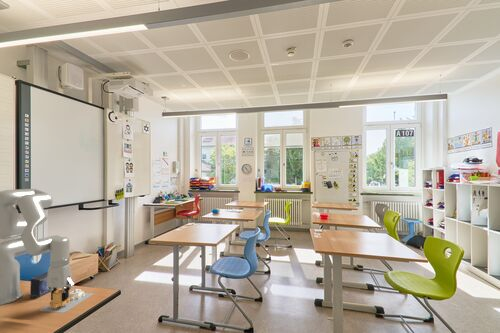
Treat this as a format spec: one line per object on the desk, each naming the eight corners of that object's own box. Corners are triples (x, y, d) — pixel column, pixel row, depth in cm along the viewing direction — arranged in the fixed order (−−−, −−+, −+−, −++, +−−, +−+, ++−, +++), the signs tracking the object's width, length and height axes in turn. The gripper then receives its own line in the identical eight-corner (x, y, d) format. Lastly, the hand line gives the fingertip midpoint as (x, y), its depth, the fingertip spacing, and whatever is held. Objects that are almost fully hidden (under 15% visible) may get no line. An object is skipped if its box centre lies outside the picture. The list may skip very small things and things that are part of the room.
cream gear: (63, 300, 124) (63, 294, 124) (75, 293, 131) (75, 287, 131) (75, 301, 123) (75, 295, 123) (87, 293, 130) (87, 288, 130)
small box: (38, 299, 128) (39, 279, 128) (29, 298, 129) (29, 278, 130) (58, 289, 138) (58, 271, 139) (49, 288, 140) (49, 270, 140)
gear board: (38, 313, 115) (38, 302, 115) (72, 294, 132) (72, 284, 132) (63, 315, 112) (63, 304, 113) (94, 295, 130) (94, 286, 130)
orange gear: (45, 307, 115) (45, 295, 115) (60, 298, 123) (60, 287, 123) (59, 308, 113) (59, 296, 114) (73, 299, 121) (73, 287, 122)
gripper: (37, 265, 116) (37, 302, 116) (67, 266, 114) (67, 304, 113) (52, 259, 124) (52, 294, 123) (81, 260, 121) (81, 296, 121)
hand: (59, 298), depth 118 cm, fingers closed on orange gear, 5 cm apart
